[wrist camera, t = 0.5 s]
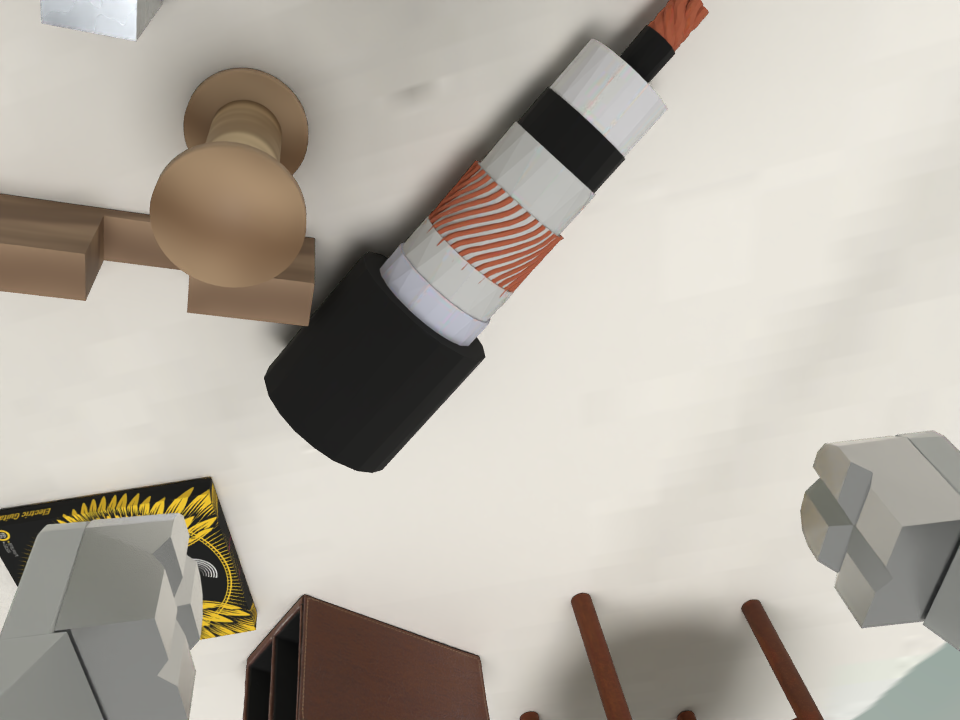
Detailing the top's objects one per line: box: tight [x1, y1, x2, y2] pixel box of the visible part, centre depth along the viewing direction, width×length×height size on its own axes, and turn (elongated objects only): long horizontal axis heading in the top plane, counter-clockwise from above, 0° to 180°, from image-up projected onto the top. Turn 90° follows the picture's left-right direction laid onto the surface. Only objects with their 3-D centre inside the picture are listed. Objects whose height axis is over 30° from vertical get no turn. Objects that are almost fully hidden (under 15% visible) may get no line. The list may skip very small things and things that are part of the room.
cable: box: [264, 0, 709, 473], centre depth 51 cm, size 10×34×10 cm, turn 136°
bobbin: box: [150, 68, 308, 288], centre depth 44 cm, size 7×7×13 cm
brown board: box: [0, 194, 315, 326], centre depth 50 cm, size 3×20×6 cm, turn 76°
